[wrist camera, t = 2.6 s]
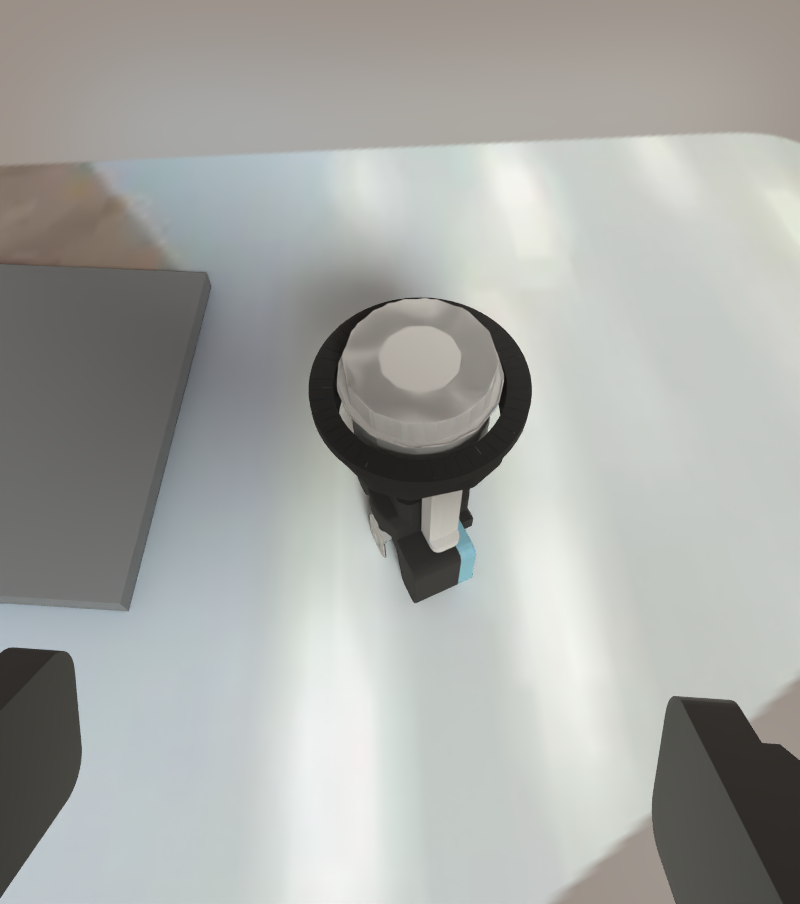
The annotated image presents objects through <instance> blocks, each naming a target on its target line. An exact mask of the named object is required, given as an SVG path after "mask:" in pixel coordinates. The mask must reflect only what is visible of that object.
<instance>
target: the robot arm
mask: <svg viewBox="0 0 800 904" xmlns="http://www.w3.org/2000/svg"><path fill="white" fill-rule="evenodd" d="M81 756H82V746H81V735H80V724H79V713H78V702H77V691H76V680H75V669H74V663H73V660H72V658H71V656H70V655H69V653H67V652H65V651H55V650H41V649H27V648H8V649H5V650H4V651H2V652H1V653H0V898H1V896H2V895H3V893H4V892H5V890H6V889H7V888H8V886H9V885H10V883H11V882H12V880H13V879H14V877H15V876H16V874H17V873H18V872H19V870H20V869H21V867H22V866H23V864H24V863H25V861H26V860H27V858H28V857H29V856H30V854H31V853H32V851H33V850H34V848H35V847H36V845H37V844H38V842H39V841H40V840H41V838H42V837H43V835H44V834H45V832H46V831H47V829H48V828H49V826H50V825H51V824H52V822H53V821H54V819H55V818H56V816H57V815H58V813H59V812H60V810H61V809H62V808H63V806H64V805H65V803H66V802H67V800H68V798H69V797H70V795H71V793H72V791H73V789H74V786H75V784H76V781H77V778H78V774H79V770H80V765H81ZM652 821H653V831H654V837H655V842H656V846H657V850H658V853H659V856H660V858H661V862H662V865H663V867H664V870H665V873H666V876H667V879H668V882H669V885H670V888H671V891H672V894H673V897H674V900H675V903H676V904H800V760H798V759H797V758H796V757H795V756H793V755H792V754H791V753H790V752H789V751H787V750H786V749H785V748H784V747H782V746H781V745H780V744H767V743H762V742H761V741H760V739H759V738H758V736H757V734H756V733H755V731H754V730H753V728H752V726H751V725H750V723H749V722H748V720H747V718H746V717H745V715H744V714H743V712H742V710H741V709H740V707H739V706H738V704H737V703H736V702H734V701H732V700H722V699H708V698H694V697H680V696H673V697H672V698H671V699H670V700H669V702H668V705H667V708H666V713H665V719H664V726H663V732H662V738H661V745H660V751H659V758H658V764H657V770H656V777H655V783H654V789H653V797H652Z"/></svg>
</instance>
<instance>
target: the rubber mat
mask: <svg viewBox="0 0 800 904" xmlns="http://www.w3.org/2000/svg"><path fill="white" fill-rule="evenodd" d="M210 288H211V284H210V281H209V278H208V276H207V273H204V272H180V271H156V270H132V269H108V268H84V267H60V266H36V265H12V264H0V603H11V604H27V605H42V606H58V607H73V608H88V609H104V610H119V611H129V607H130V603H131V599H132V595H133V591H134V587H135V583H136V580H137V576H138V572H139V568H140V564H141V560H142V556H143V552H144V548H145V544H146V540H147V536H148V532H149V528H150V524H151V520H152V517H153V513H154V509H155V505H156V501H157V497H158V493H159V489H160V485H161V481H162V477H163V473H164V469H165V465H166V461H167V458H168V454H169V450H170V446H171V442H172V438H173V434H174V430H175V426H176V422H177V418H178V414H179V410H180V406H181V402H182V398H183V395H184V391H185V387H186V383H187V379H188V375H189V371H190V367H191V363H192V359H193V355H194V351H195V347H196V343H197V339H198V336H199V332H200V328H201V324H202V320H203V316H204V312H205V308H206V304H207V300H208V296H209V292H210Z"/></svg>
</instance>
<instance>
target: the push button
mask: <svg viewBox="0 0 800 904" xmlns="http://www.w3.org/2000/svg"><path fill="white" fill-rule="evenodd" d="M531 396H532V384H531V377H530V372H529V368H528V365H527V362H526V360H525V357H524V355H523V354H522V352H521V350H520V348H519V347H518V345H517V344H516V342H515V341H514V339H513V338H512V337H511V336H510V335H509V334H508V333H507V332H506V331H505V330H504V329H503V328H502V327H501V326H500V325H499V324H497V323H496V322H495V321H493V320H492V319H491V318H489V317H488V316H486V315H484V314H483V313H481V312H479V311H477V310H475V309H473V308H470V307H468V306H465V305H462V304H459V303H456V302H452V301H448V300H442V299H435V298H405V299H397V300H392V301H388V302H384V303H381V304H378V305H375V306H372V307H370V308H367V309H365V310H363V311H361V312H359V313H357V314H356V315H354V316H353V317H351V318H349V319H348V320H347V321H345V322H344V323H343V324H341V325H340V326H339V327H338V328H337V329H336V330H335V331H334V332H333V333H332V334H331V335H330V336H329V337H328V339H327V340H326V341H325V342H324V344H323V345H322V347H321V348H320V350H319V352H318V354H317V356H316V358H315V360H314V363H313V366H312V369H311V373H310V379H309V401H310V407H311V411H312V415H313V419H314V422H315V425H316V428H317V430H318V432H319V434H320V436H321V438H322V439H323V441H324V443H325V444H326V445H327V447H328V448H329V449H330V450H331V452H332V453H333V454H334V455H335V456H336V457H337V458H338V459H339V460H341V461H342V462H343V463H344V464H345V465H346V466H348V467H349V468H350V469H351V470H352V471H353V472H354V473H355V474H356V475H357V476H358V479H359V481H360V484H361V486H362V488H363V490H364V492H365V493H366V494H367V495H369V500H370V506H371V511H372V514H370V515H369V517H370V525H371V532H372V534H373V537H374V539H375V541H376V543H377V546H378V548H379V550H380V552H381V554H382V556H383V557H384V558H385V557H386V549H385V543H386V542H388V541H390V540H392V539H393V542H394V544H395V546H396V549H397V552H398V556H399V562H400V567H401V572H402V578H403V581H404V584H405V586H406V588H407V590H408V592H409V595H410V597H411V599H412V600H413V602H414V603H417V602H419V601H421V600H424V599H426V598H428V597H430V596H433V595H435V594H437V593H439V592H441V591H444V590H446V589H448V588H450V587H452V586H455V585H457V584H458V583H461V582H463V581H465V580H467V579H469V578H472V576H473V573H472V572H473V567H474V561H475V556H476V552H475V549H474V546H473V544H472V542H471V540H470V538H469V536H468V534H467V533H466V531H465V528H468V527H470V526H472V522H473V517H472V515H471V513H470V511H469V510H468V508H467V506H468V500H469V490H470V488H473V487H475V486H476V485H477V484H478V483H479V482H481V481H482V480H483V479H484V478H485V477H486V476H487V475H489V474H490V473H491V472H492V471H493V470H494V469H496V468H497V467H498V466H499V465H500V463H501V462H502V459H503V457H504V456H505V455H506V454H507V453H508V452H509V451H510V450H511V449H512V447H513V446H514V444H515V443H516V442H517V440H518V438H519V436H520V435H521V433H522V431H523V428H524V426H525V423H526V420H527V416H528V412H529V408H530V404H531ZM341 402H342V403H343V405H344V407H345V410H346V412H347V413H348V415H349V416H350V417H351V418H352V421H353V428H354V434H353V433H352V432H351V431H350V429H349V428H348V427H347V426H346V424H345V423H344V422H343V420H342V418H341V416H340V414H339V409H340V405H341ZM498 404H499V409H500V417H499V419H498V420H497V422H496V424H495V425H494V426H493V427H492V429H491V430H490V431H489V432H488V425H489V419H490V415H491V414H492V413H493V412H494V411H495V409H496V408H497V406H498ZM487 432H488V433H487Z"/></svg>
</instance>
